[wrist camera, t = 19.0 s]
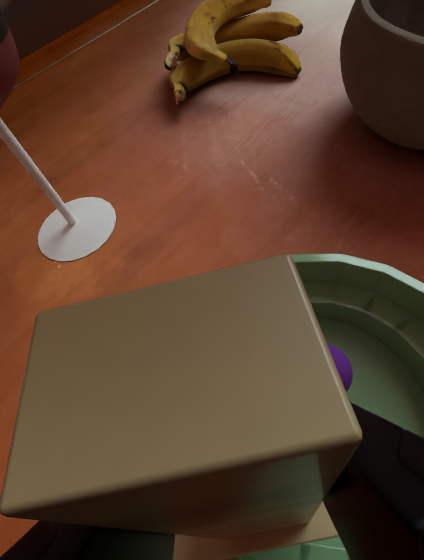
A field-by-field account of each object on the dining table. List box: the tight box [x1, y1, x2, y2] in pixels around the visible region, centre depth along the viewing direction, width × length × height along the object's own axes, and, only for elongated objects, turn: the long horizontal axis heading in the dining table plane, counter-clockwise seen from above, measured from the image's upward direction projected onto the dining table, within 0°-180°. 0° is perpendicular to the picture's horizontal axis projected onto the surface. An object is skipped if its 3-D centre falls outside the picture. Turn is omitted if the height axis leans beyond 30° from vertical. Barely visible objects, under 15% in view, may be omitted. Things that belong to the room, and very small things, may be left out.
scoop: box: [0, 254, 362, 560], centre depth 10 cm, size 10×7×13 cm
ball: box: [327, 344, 353, 392], centre depth 20 cm, size 3×3×3 cm
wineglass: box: [0, 7, 116, 261], centre depth 24 cm, size 8×9×20 cm
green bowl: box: [222, 254, 424, 560], centre depth 19 cm, size 16×16×5 cm
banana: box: [164, 0, 303, 105], centre depth 39 cm, size 15×19×6 cm
